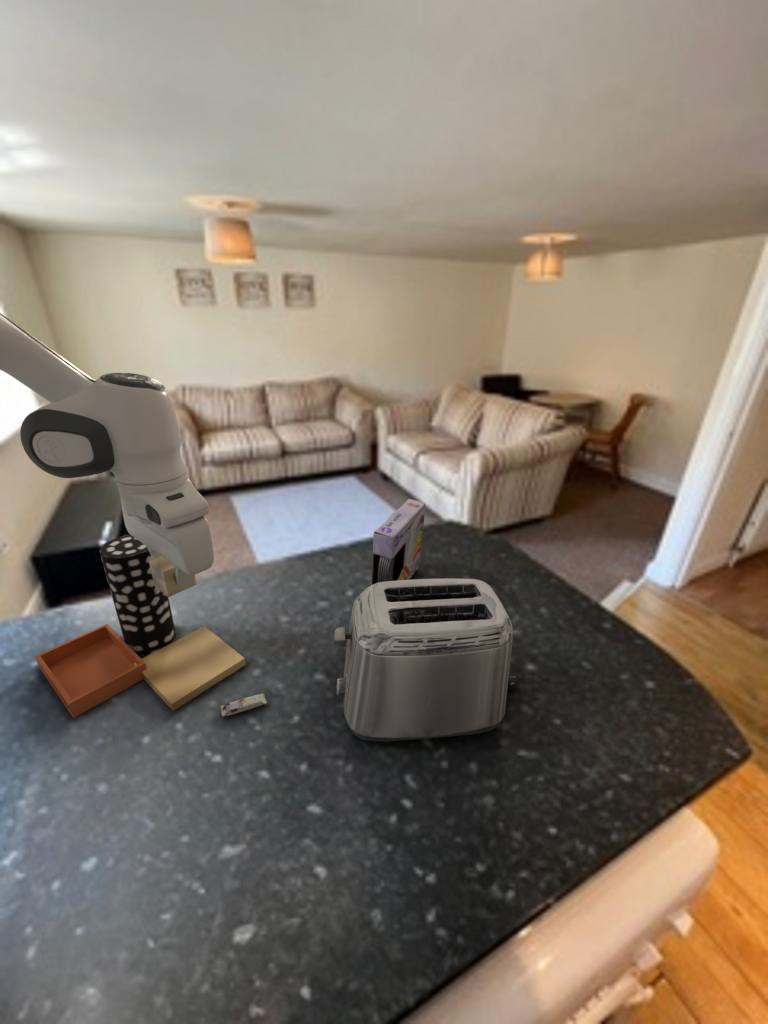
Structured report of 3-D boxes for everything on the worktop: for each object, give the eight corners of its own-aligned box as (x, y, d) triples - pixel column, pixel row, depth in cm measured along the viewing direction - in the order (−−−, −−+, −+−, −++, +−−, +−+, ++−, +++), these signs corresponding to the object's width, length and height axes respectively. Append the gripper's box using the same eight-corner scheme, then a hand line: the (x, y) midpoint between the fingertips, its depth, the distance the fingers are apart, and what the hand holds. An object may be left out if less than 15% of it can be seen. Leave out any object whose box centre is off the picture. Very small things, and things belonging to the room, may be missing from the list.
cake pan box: (388, 612, 92) (391, 536, 84) (366, 605, 94) (368, 530, 86) (421, 568, 108) (426, 501, 100) (402, 563, 110) (406, 497, 102)
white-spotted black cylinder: (180, 644, 82) (160, 549, 73) (129, 662, 77) (102, 563, 69) (171, 620, 88) (151, 529, 79) (123, 635, 84) (97, 541, 75)
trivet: (134, 669, 76) (133, 663, 75) (205, 631, 85) (204, 625, 84) (173, 711, 68) (171, 704, 68) (245, 664, 78) (245, 658, 77)
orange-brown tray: (39, 668, 75) (34, 655, 74) (110, 635, 83) (107, 623, 82) (73, 718, 67) (68, 704, 66) (148, 675, 75) (145, 663, 74)
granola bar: (264, 695, 72) (264, 690, 71) (267, 706, 70) (266, 701, 69) (220, 708, 69) (219, 703, 69) (221, 719, 67) (221, 714, 67)
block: (154, 586, 69) (148, 561, 68) (182, 574, 73) (177, 550, 71) (168, 597, 67) (163, 571, 65) (196, 584, 70) (192, 560, 68)
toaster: (336, 666, 78) (334, 573, 70) (501, 659, 80) (517, 569, 73) (335, 754, 63) (332, 648, 55) (538, 741, 65) (564, 638, 57)
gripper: (102, 481, 67) (122, 560, 73) (169, 521, 55) (187, 612, 61) (144, 470, 71) (161, 546, 77) (215, 506, 60) (228, 592, 65)
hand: (173, 576), depth 69 cm, fingers closed on block, 4 cm apart
